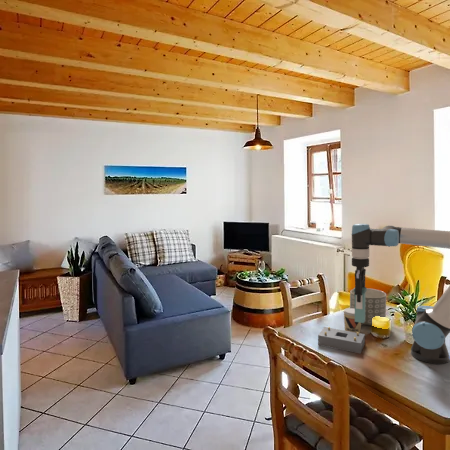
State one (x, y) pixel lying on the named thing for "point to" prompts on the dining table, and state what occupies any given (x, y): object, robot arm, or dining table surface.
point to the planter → (371, 304)
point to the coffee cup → (351, 321)
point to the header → (341, 339)
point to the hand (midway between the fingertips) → (360, 307)
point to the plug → (360, 312)
